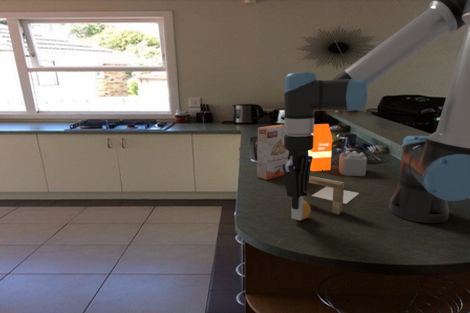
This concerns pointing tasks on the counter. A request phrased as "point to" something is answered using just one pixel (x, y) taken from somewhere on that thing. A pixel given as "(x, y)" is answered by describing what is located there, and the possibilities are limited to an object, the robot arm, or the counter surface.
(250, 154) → the counter surface
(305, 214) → the ball
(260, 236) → the counter surface
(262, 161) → the cracker box
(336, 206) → the bridge
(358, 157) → the grey toy brick
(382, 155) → the counter surface
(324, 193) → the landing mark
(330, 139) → the orange juice
